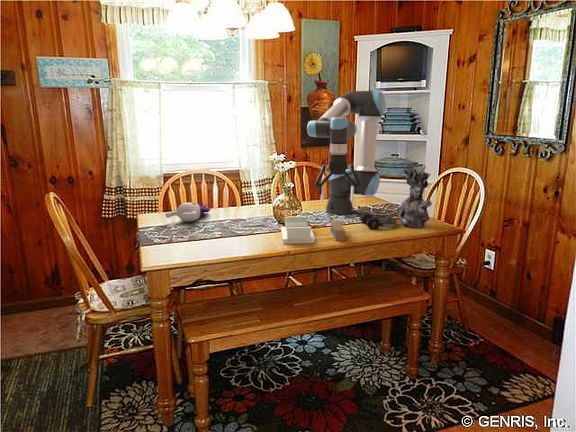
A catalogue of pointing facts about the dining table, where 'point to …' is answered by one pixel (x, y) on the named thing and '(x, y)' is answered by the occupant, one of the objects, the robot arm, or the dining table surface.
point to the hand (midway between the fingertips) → (336, 201)
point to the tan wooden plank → (337, 231)
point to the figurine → (189, 211)
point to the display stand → (297, 231)
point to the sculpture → (415, 199)
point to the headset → (376, 221)
